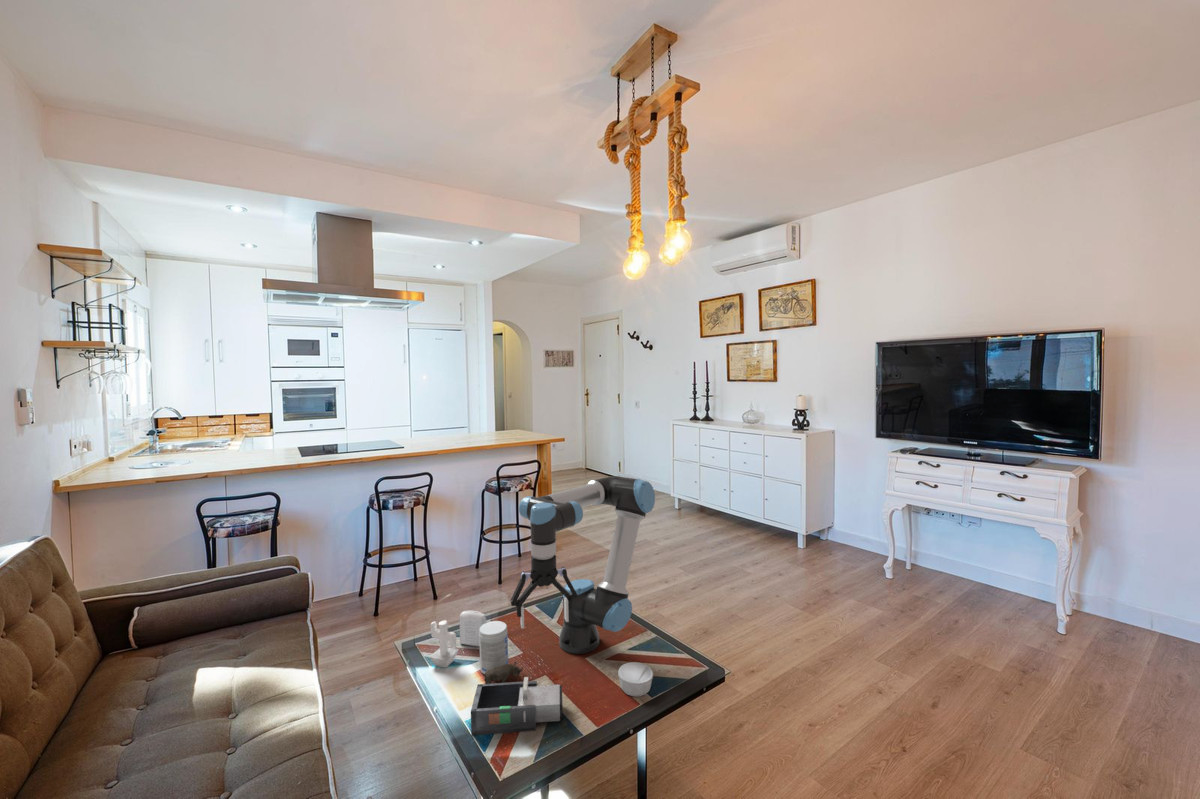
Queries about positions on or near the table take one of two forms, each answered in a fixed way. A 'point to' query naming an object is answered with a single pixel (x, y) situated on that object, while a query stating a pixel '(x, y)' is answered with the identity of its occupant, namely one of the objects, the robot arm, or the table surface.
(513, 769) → the table surface
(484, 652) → the supplement tub
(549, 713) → the plunger
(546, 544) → the robot arm
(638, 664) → the ramekin
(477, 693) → the gauge housing
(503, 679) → the rhino figurine
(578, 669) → the table surface
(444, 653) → the figurine
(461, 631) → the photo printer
